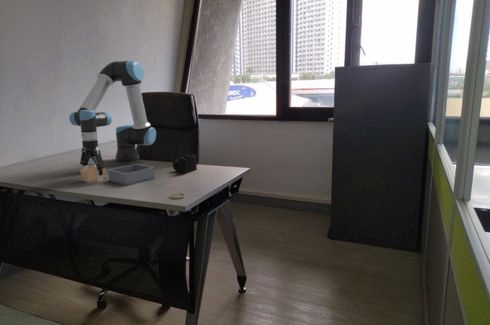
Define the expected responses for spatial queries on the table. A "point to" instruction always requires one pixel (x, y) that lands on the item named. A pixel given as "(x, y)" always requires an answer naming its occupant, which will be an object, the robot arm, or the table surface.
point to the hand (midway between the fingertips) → (93, 179)
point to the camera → (185, 164)
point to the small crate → (91, 174)
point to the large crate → (131, 174)
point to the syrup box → (91, 162)
